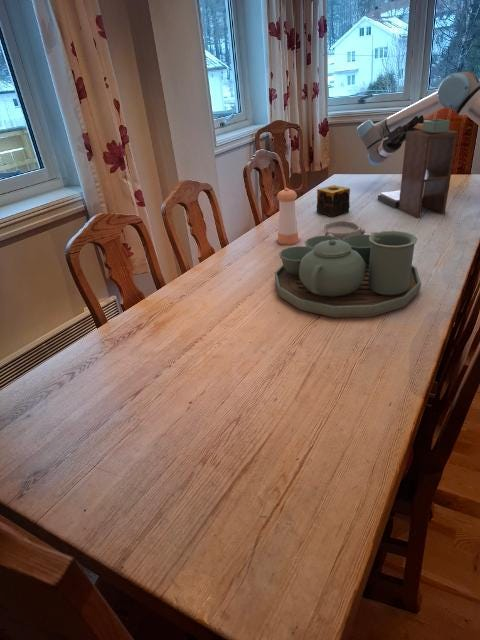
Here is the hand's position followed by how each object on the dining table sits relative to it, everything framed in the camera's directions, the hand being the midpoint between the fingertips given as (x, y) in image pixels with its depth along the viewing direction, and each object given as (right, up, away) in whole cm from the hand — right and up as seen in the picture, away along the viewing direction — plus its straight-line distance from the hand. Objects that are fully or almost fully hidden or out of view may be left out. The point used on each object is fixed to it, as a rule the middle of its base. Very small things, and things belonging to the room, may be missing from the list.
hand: (419, 119), depth 165 cm
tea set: (-40, -68, -42) cm, 89 cm away
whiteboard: (+1, -26, +23) cm, 34 cm away
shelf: (+5, -33, +10) cm, 35 cm away
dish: (-33, -49, -11) cm, 60 cm away
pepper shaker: (-52, -49, -7) cm, 71 cm away
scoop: (+1, -5, -2) cm, 5 cm away
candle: (-30, -32, +18) cm, 47 cm away
